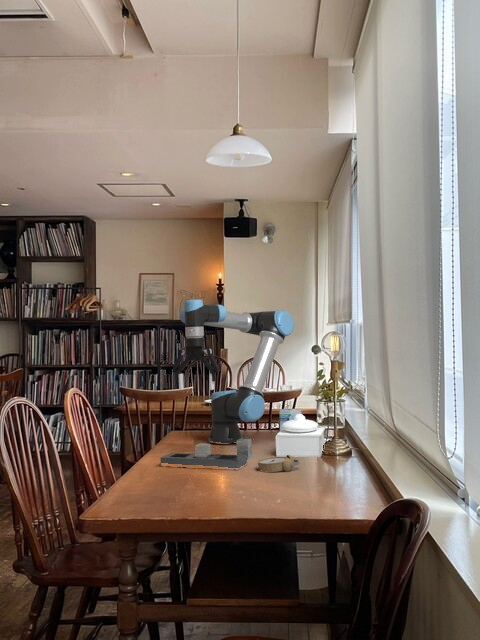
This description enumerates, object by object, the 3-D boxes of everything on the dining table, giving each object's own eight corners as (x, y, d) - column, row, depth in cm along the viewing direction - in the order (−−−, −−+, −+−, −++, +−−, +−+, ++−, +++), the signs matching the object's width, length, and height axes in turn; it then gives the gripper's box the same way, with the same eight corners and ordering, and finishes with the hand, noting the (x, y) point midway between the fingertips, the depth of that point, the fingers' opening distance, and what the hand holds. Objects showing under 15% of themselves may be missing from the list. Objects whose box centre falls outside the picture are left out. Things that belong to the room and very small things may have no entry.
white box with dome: (282, 448, 262) (281, 410, 262) (325, 448, 258) (324, 410, 259) (276, 457, 245) (274, 416, 245) (322, 457, 241) (320, 416, 241)
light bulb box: (279, 432, 301) (278, 410, 301) (281, 430, 308) (280, 408, 308) (301, 432, 299) (301, 410, 300) (302, 430, 306) (301, 408, 306)
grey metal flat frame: (172, 461, 242) (171, 452, 242) (247, 464, 232) (246, 455, 232) (160, 466, 233) (160, 457, 233) (238, 470, 223) (237, 460, 223)
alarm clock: (259, 458, 230) (299, 450, 227) (262, 471, 230) (301, 464, 227) (254, 464, 219) (296, 457, 216) (257, 478, 219) (299, 471, 216)
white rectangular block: (241, 459, 243) (240, 438, 243) (252, 459, 241) (251, 438, 241) (237, 461, 238) (236, 440, 239) (248, 462, 237) (247, 440, 237)
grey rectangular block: (200, 464, 235) (199, 443, 235) (211, 465, 234) (210, 443, 234) (195, 467, 231) (194, 445, 231) (206, 467, 229) (206, 445, 230)
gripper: (163, 338, 254) (164, 390, 254) (219, 336, 246) (221, 390, 246) (171, 338, 261) (173, 388, 261) (226, 336, 253) (228, 388, 253)
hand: (196, 389), depth 253 cm, fingers open, 13 cm apart
